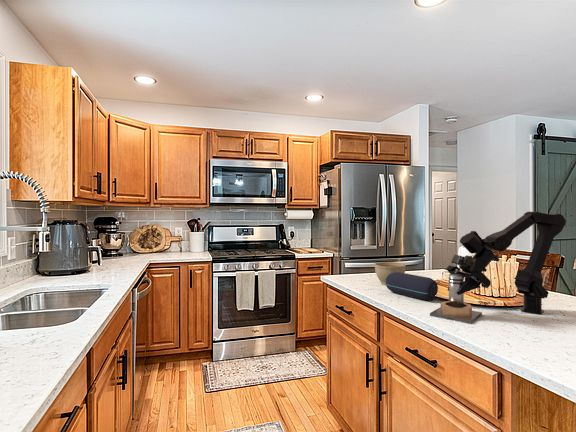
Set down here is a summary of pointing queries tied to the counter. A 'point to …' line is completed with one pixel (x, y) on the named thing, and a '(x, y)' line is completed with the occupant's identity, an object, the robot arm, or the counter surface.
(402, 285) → the portable speaker
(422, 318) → the counter surface
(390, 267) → the planter bowl
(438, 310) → the piston socket base
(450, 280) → the steel piston
